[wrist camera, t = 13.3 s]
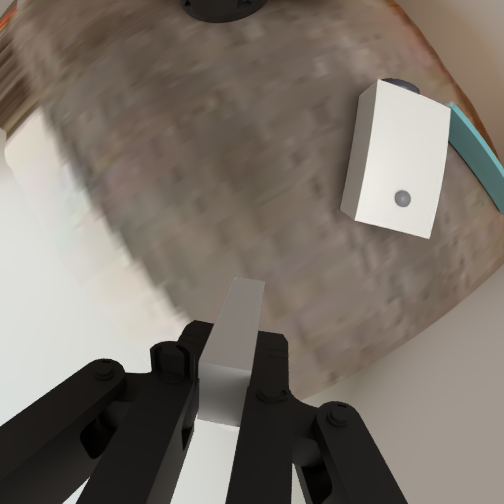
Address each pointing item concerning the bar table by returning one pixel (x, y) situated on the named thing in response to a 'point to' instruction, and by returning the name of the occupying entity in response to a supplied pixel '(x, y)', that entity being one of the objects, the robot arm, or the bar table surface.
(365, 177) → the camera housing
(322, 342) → the bar table surface
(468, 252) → the bar table surface
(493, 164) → the side door
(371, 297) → the bar table surface
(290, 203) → the bar table surface
